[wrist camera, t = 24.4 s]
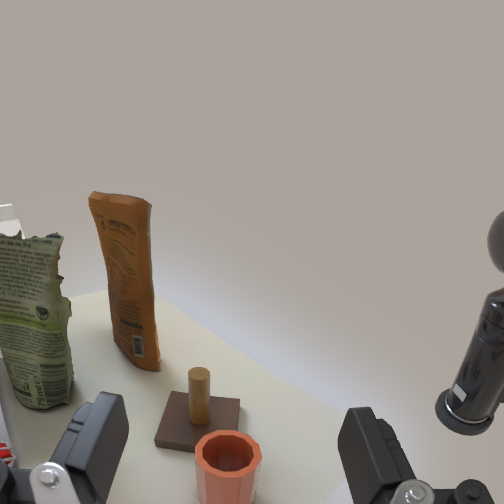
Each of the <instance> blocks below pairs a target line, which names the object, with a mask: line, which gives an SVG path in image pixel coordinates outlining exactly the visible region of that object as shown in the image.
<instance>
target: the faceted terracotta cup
mask: <svg viewBox="0 0 504 504" xmlns="http://www.w3.org/2000/svg"><path fill="white" fill-rule="evenodd" d="M261 459H262V455H261V451H260V447H259V444H258V443H256V442H255V441H254V440H253V439H252V438H251V437H250V436H249V435H247V434H244V433H241V432H238V431H235V430H217V431H214V432H212V433H210V434H207V435H205V436H203V437H202V438H201V440H200V441H199V442H198V443H197V445H196V446H195V462H196V474H197V486H198V497H199V503H200V504H252V503H253V501H254V497H255V492H256V486H257V481H258V476H259V470H260V465H261Z"/></svg>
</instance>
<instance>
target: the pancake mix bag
mask: <svg viewBox="0 0 504 504" xmlns="http://www.w3.org/2000/svg"><path fill="white" fill-rule="evenodd" d="M88 199H89V207H90V210H91V213H92V215H93V218H94V221H95V223H96V227H97V231H98V235H99V240H100V245H101V249H102V252H103V256H104V260H105V265H106V270H107V277H108V293H109V302H110V312H111V320H112V325H113V335H114V341H115V342H116V343H117V345H118V346H119V347H120V348H121V349H122V350H123V352H124V353H125V354H126V355H127V356H128V357H129V358H130V359H131V360H132V362H133V363H134V364H135V365H136V366H137V367H138V368H141V369H144V370H152V371H161V370H160V366H159V363H160V351H159V346H158V336H157V329H156V323H155V316H154V288H153V281H152V262H151V239H150V215H151V207H152V205H151V204H150V203H148V202H147V201H145V200H144V199H142V198H138V197H134V196H129V195H122V194H106V193H101V192H96V191H94V192H92V194H91V195H90V196H89V198H88Z"/></svg>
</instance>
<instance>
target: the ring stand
mask: <svg viewBox="0 0 504 504" xmlns="http://www.w3.org/2000/svg"><path fill="white" fill-rule="evenodd" d="M188 385H189V393H183V392H176V391H171V394H170V397H169V399H168V402H167V405H166V408H165V410H164V413H163V416H162V419H161V422H160V425H159V427H158V430H157V433H156V436H155V439H154V440H155V445H156V446H158V447H163V448H169V449H175V450H181V451H187V452H194V453H195V446H196V445H197V443H198V442H199V441H200V440H201V438H202V437H203V436H205V435H207V434H210V433H212V432H214V431H217V430H235V431H237V428H238V417H239V406H240V399H235V398H224V397H215V396H210V372H209V371H208V370H207V369H206V368H203V367H195V368H192V369H190V370H189V372H188Z"/></svg>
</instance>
